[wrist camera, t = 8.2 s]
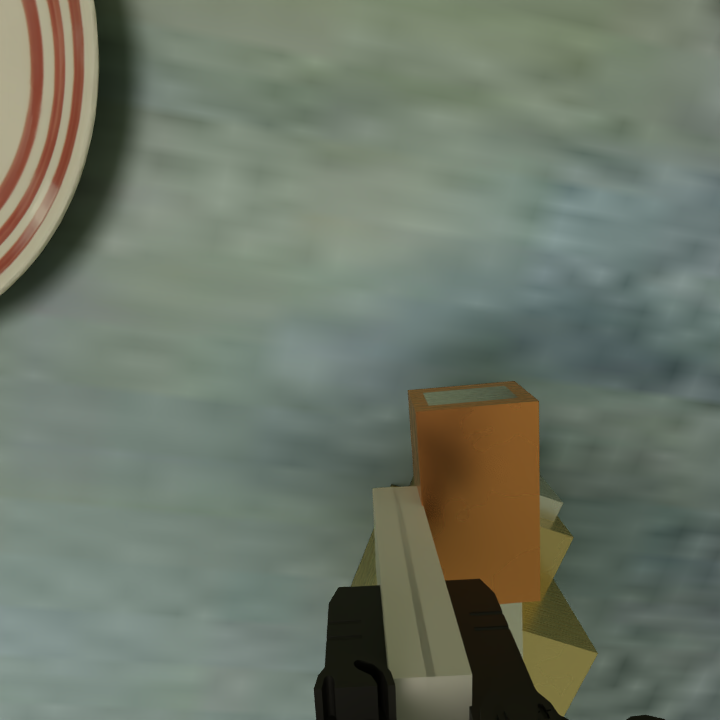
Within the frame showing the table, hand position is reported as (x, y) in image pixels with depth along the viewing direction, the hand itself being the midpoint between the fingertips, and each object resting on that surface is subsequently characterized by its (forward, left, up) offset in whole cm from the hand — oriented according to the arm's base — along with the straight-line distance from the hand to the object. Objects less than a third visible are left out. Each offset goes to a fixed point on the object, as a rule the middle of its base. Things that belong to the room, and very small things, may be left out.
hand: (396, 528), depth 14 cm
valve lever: (-2, -4, -3) cm, 5 cm away
